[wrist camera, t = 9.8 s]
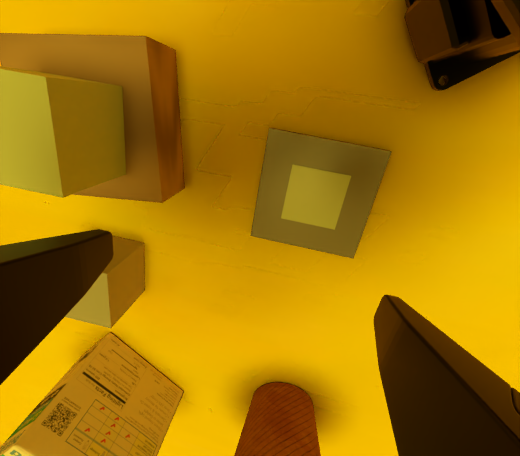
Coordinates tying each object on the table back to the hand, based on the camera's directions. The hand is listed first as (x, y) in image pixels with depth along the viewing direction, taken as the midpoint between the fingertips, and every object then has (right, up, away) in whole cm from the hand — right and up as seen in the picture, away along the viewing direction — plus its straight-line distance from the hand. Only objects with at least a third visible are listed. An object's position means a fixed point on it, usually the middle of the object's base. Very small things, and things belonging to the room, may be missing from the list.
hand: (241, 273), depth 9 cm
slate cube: (-12, -1, +16) cm, 20 cm away
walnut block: (-9, +9, +11) cm, 17 cm away
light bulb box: (-13, -15, +22) cm, 29 cm away
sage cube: (-10, +8, +8) cm, 15 cm away
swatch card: (+5, +4, +11) cm, 12 cm away
